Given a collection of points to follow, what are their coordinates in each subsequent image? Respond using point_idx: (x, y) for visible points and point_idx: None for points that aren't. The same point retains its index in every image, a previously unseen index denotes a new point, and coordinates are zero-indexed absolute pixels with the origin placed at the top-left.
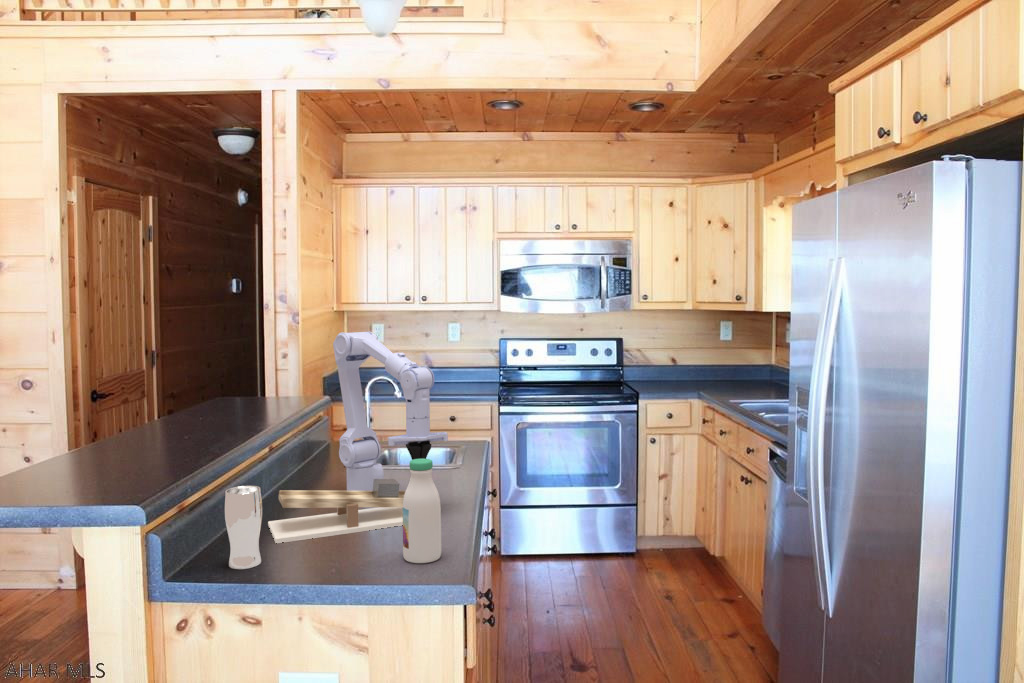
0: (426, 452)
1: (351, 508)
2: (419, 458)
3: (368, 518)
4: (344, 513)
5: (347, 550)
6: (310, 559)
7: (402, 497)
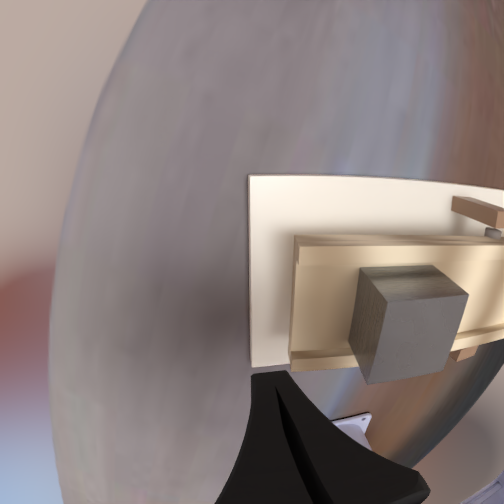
0: (250, 484)
1: (502, 209)
2: (305, 439)
3: None
4: None
5: (481, 69)
6: None
7: (320, 314)
